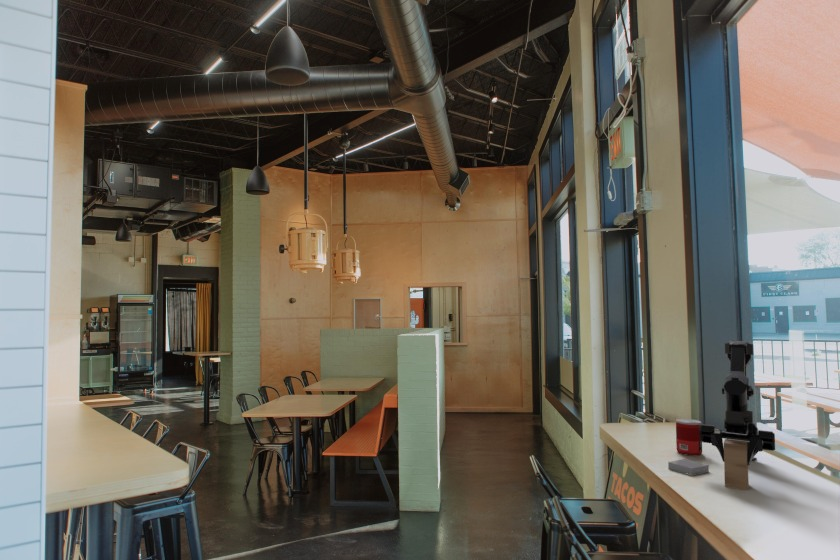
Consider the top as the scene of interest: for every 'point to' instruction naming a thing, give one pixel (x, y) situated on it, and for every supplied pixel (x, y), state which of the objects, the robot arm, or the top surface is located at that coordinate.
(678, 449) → the canned food
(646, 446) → the top surface
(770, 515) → the top surface
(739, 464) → the walnut block
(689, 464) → the slate tile
